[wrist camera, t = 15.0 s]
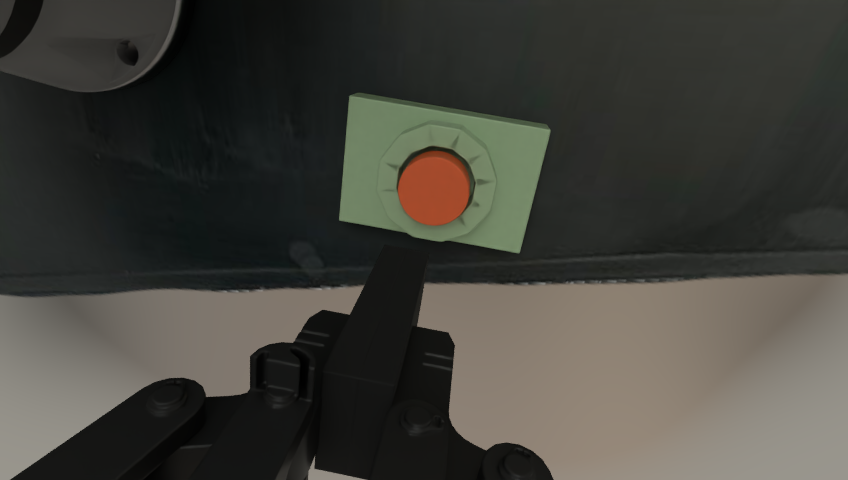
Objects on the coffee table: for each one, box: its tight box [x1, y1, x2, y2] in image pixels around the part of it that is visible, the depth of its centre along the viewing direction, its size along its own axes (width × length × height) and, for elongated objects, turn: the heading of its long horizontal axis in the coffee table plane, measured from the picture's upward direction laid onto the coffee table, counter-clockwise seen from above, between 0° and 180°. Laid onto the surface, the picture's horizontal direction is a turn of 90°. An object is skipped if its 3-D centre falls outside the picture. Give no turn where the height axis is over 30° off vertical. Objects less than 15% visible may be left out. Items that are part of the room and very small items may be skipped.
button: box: [398, 151, 470, 226], centre depth 27 cm, size 4×4×2 cm
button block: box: [339, 93, 551, 253], centre depth 29 cm, size 12×8×4 cm, turn 81°
